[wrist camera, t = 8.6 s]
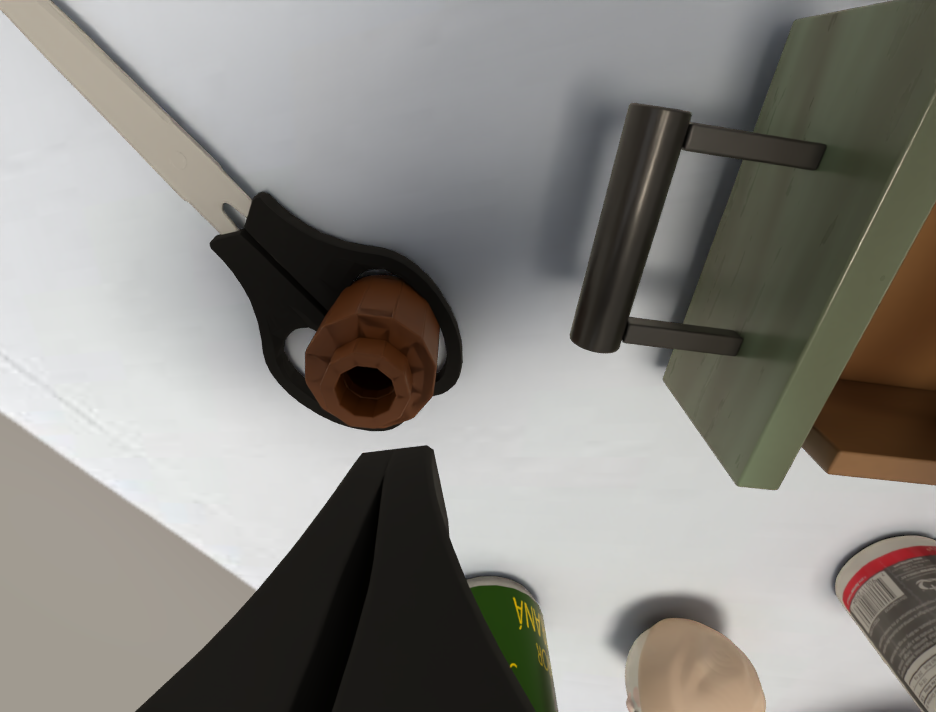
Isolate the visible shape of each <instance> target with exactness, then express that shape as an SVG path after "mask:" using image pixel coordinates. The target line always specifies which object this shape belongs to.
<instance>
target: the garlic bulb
mask: <svg viewBox="0 0 936 712" xmlns="http://www.w3.org/2000/svg"><path fill="white" fill-rule="evenodd" d="M625 685H626V691H627V696H628V698H627V701H626V705H627V708H628V710H629V712H765V709H766V700H765V696H764V693H763V690H762V686H761V683H760V680H759V678H758V675H757V672H756V670H755V668H754V666H753V665H752V663H751V662H750V660H749V659H748V657H747V656H746V655H745V654H744V653H743V652H742V651H741V650H740V649H739V648H738V647H737V646H736V645H735V644H734V643H733V642H732V641H731V640H729V639H728V638H727V637H726V636H724V635H723V634H721V633H720V632H718V631H716V630H714V629H712V628H710V627H708V626H706V625H704V624H701V623H699V622H697V621H693V620H690V619H684V618H667V619H663V620H661V621H659V622H658V623H656V624H655V625H653V626H652V627H651V628H649V629H647V630H646V631H644V632H643V633H642V634H641V635H640V636H639V637H638V638H637V639H636V640H635V642H634V643H633V645H632V647H631V649H630V651H629V654H628V657H627V661H626V667H625Z"/></svg>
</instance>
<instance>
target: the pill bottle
mask: <svg viewBox="0 0 936 712" xmlns="http://www.w3.org/2000/svg"><path fill="white" fill-rule="evenodd" d="M835 591H836V595H837V597H838V599H839V601H840V603H841V604H842V605H843V607H844V608H845V609H846V611H847V612H848V613H849V615H850V616H851V617H852V619H853V620H854V621H855V623H856V624H857V625H858V627H859V628H860V630H861V631H862V632H863V634H864V635H865V636H866V638H867V639H868V641H869V642H870V643H871V645H872V646H873V647H874V649H875V650H876V651H877V653H878V654H879V655H880V657H881V658H882V660H883V661H884V662H885V663H886V664H887V666H888V667H889V668H890V670H891V671H892V672H893V674H894V675H895V676H896V678H897V679H898V680H899V682H900V683H901V684H902V686H903V687H904V688H905V690H906V691H907V692H908V694H909V695H910V696H911V698H912V699H913V700H914V702H915V703H916V704H917V706H918V707H919V708H920V710H921V711H922V712H936V540H933V539H930V538H927V537H922V536H899V537H893V538H888V539H885V540H882V541H879V542H877V543H875V544H873V545H870V546H869V547H867V548H865V549H864V550H862V551H860V552H859V553H858V554H856V555H855V556H854V557H852V558H851V559H850V560H849V561H848V562H847V563H846V564H845V565H844V567H843V568H842V569H841V571H840V573H839V574H838V576H837V578H836V584H835Z"/></svg>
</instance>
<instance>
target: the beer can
mask: <svg viewBox="0 0 936 712" xmlns="http://www.w3.org/2000/svg"><path fill="white" fill-rule="evenodd" d="M467 583H468V585H469V587H470V589H471V592H472V594H473V596H474V598H475V600H476V602H477V604H478V606H479V608H480V610H481V613H482V615H483V617H484V619H485V621H486V623H487V625H488V627H489V629H490V631H491V632H492V634H493V636H494V638H495V640H496V642H497V644H498V646H499V648H500V650H501V652H502V654H503V655H504V657H505V659H506V661H507V662H508V664H509V666H510V667H511V669H512V671H513V673H514V674H515V676H516V678H517V680H518V681H519V683H520V685H521V687H522V688H523V690H524V692H525V694H526V695H527V697H528V699H529V700H530V702H531V704H532V706H533V707H534V709H535V711H536V712H558V707H557V701H556V695H555V688H554V682H553V676H552V670H551V664H550V658H549V651H548V645H547V639H546V633H545V627H544V620H543V615H542V612H541V610H540V608H539V605H538V603H537V602H536V601H535V599H534V598H533V596H532V595H531V593H530V592H529V591H528V590H527V589H526V588H525V587H524V586H523V585H521V584H519V583H517V582H515V581H513V580H511V579H507V578H502V577H497V576H479V577H475V578H471V579H467Z"/></svg>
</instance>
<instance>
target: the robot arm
mask: <svg viewBox="0 0 936 712" xmlns="http://www.w3.org/2000/svg"><path fill="white" fill-rule="evenodd" d="M135 712H536V711H535V709H534V707H533V706H532V704H531V702H530V700H529V699H528V697H527V695H526V694H525V692H524V690H523V688H522V687H521V685H520V683H519V681H518V680H517V678H516V676H515V674H514V673H513V671H512V669H511V667H510V666H509V664H508V662H507V661H506V659H505V657H504V655H503V654H502V652H501V650H500V648H499V646H498V644H497V642H496V640H495V638H494V636H493V634H492V632H491V631H490V629H489V627H488V625H487V623H486V621H485V619H484V617H483V615H482V613H481V610H480V608H479V606H478V604H477V602H476V600H475V598H474V596H473V594H472V592H471V589H470V587H469V585H468V583H467V580H466V578H465V576H464V573H463V571H462V569H461V566H460V564H459V561H458V559H457V556H456V554H455V551H454V549H453V546H452V543H451V540H450V538H449V526H448V518H447V513H446V508H445V503H444V498H443V493H442V488H441V484H440V479H439V474H438V469H437V464H436V459H435V455H434V450H433V449H431V448H430V447H428V446H427V445H425V446H417V447H409V448H401V449H392V450H384V451H376V452H367V453H362V454H361V456H360V457H359V458H358V459H357V461H356V462H355V463H354V465H353V466H352V468H351V469H350V470H349V472H348V473H347V475H346V476H345V477H344V479H343V480H342V482H341V483H340V485H339V486H338V487H337V489H336V490H335V492H334V493H333V494H332V496H331V497H330V499H329V500H328V501H327V503H326V504H325V506H324V507H323V508H322V510H321V511H320V512H319V514H318V515H317V516H316V518H315V519H314V520H313V522H312V523H311V524H310V526H309V527H308V528H307V530H306V531H305V532H304V534H303V535H302V536H301V538H300V539H299V540H298V541H297V543H296V544H295V545H294V547H293V548H292V549H291V550H290V551H289V553H288V554H287V555H286V556H285V558H284V559H283V560H282V561H281V562H280V564H279V565H278V566H277V567H276V568H275V570H274V571H273V572H272V573H271V574H270V576H269V577H268V578H267V579H266V580H265V582H264V583H263V584H262V585H261V586H260V588H259V589H258V590H257V591H256V592H255V593H254V594H253V596H252V597H251V598H250V599H249V600H248V601H247V602H246V603H245V605H244V606H243V607H242V608H241V609H240V610H239V611H238V612H237V613H236V615H234V617H233V618H232V619H231V620H230V621H229V622H228V623H227V624H226V625H225V626H224V627H223V628H222V629H221V630H220V631H219V632H218V633H217V634H216V635H215V636H214V637H213V638H212V640H210V642H209V643H208V644H207V645H206V646H205V647H204V648H203V649H202V650H201V651H200V652H198V654H196V655H195V657H193V658H192V659H191V660H190V661H189V662H188V663H187V664H186V665H185V666H184V667H183V668H182V669H180V670H179V671H178V672H177V673H176V674H175V675H174V676H173V677H172V678H171V679H170V680H169V681H168V682H166V683H165V684H164V685H163V686H162V687H161V688H160V689H159V690H158V691H157V692H156V693H155V694H154V695H153V696H151V697H150V698H149V699H148V700H147V701H146V702H145V703H144V704H143V705H142V706H141V707H140V708H139V709H137V710H136V711H135Z"/></svg>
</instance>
